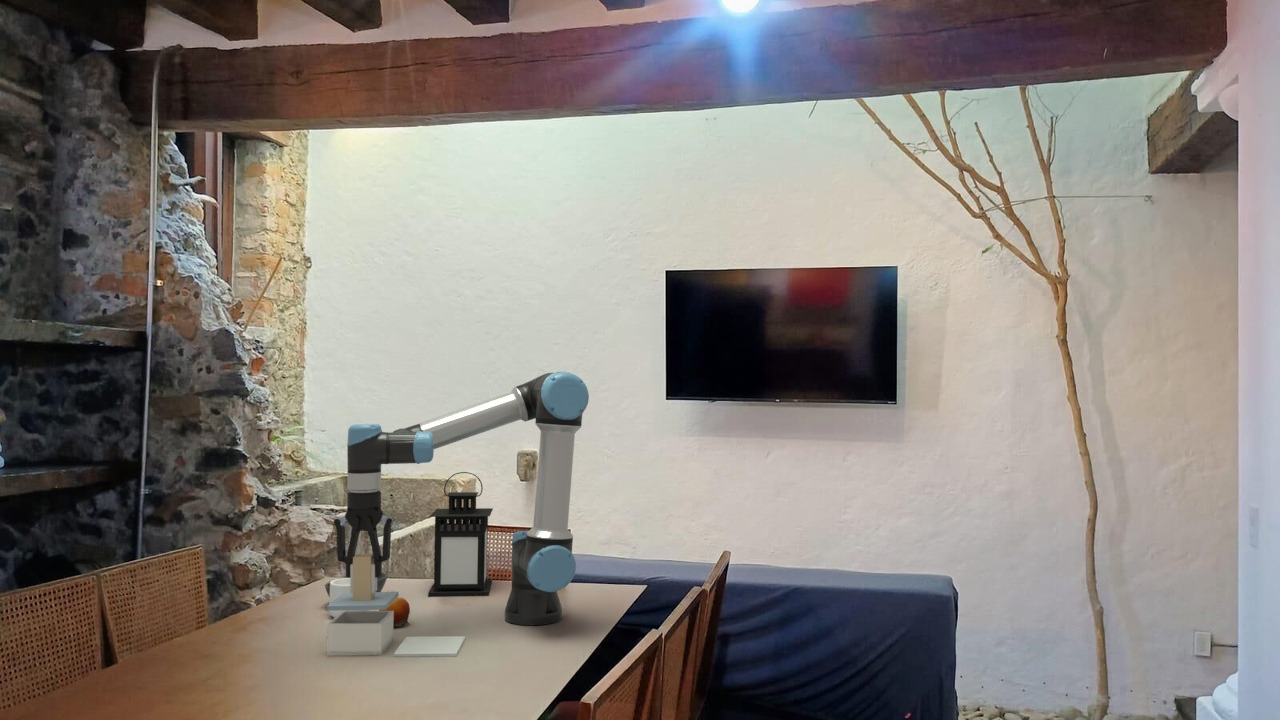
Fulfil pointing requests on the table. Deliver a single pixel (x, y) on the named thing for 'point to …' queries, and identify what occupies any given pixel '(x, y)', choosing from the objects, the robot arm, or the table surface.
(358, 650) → the white open storage bin
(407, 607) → the fruit
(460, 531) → the lantern
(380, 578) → the bowl
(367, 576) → the lid
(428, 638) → the mat
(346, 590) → the mug
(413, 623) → the table surface
